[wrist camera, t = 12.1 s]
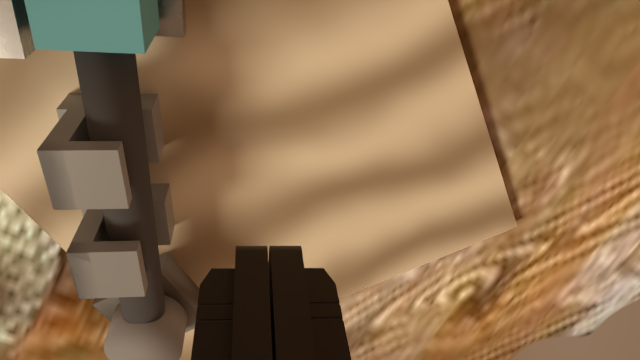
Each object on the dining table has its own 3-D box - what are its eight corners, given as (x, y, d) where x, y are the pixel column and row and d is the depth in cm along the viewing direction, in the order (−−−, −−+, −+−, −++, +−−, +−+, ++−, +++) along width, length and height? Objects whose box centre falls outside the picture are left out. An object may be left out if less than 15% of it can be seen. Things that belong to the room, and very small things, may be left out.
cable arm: (190, 333, 33) (183, 380, 30) (120, 335, 33) (107, 383, 30) (153, -99, 20) (135, -91, 17) (35, -109, 19) (-6, -102, 16)
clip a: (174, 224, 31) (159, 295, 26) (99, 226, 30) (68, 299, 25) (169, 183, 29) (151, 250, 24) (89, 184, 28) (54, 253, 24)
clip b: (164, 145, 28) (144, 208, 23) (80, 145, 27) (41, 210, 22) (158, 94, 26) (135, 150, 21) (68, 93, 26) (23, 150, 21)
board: (514, 221, 34) (531, 245, 32) (182, 357, 38) (177, 387, 36) (334, -357, 18) (345, -385, 16) (-205, -22, 22) (-254, -8, 20)
